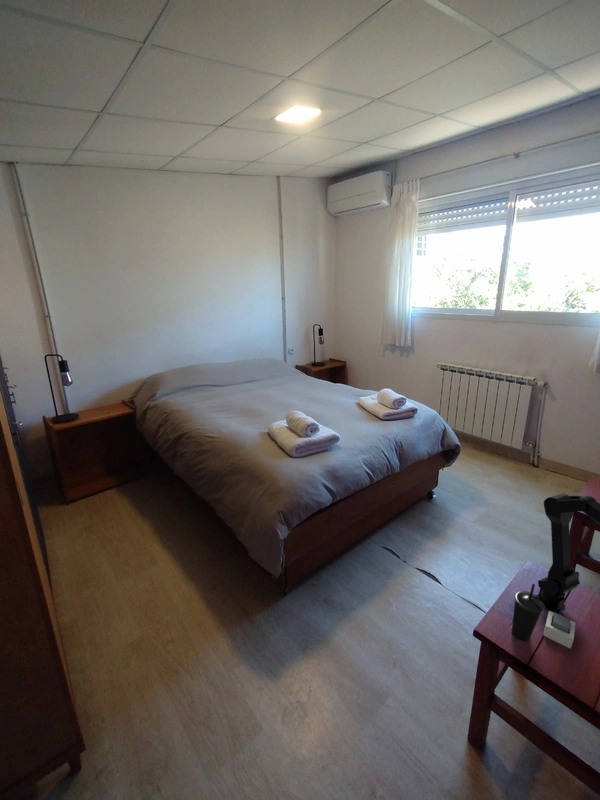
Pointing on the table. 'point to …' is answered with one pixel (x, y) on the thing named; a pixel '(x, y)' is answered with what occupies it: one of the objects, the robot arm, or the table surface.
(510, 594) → the table surface
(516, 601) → the drinking cup
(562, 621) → the button
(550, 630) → the switch box
